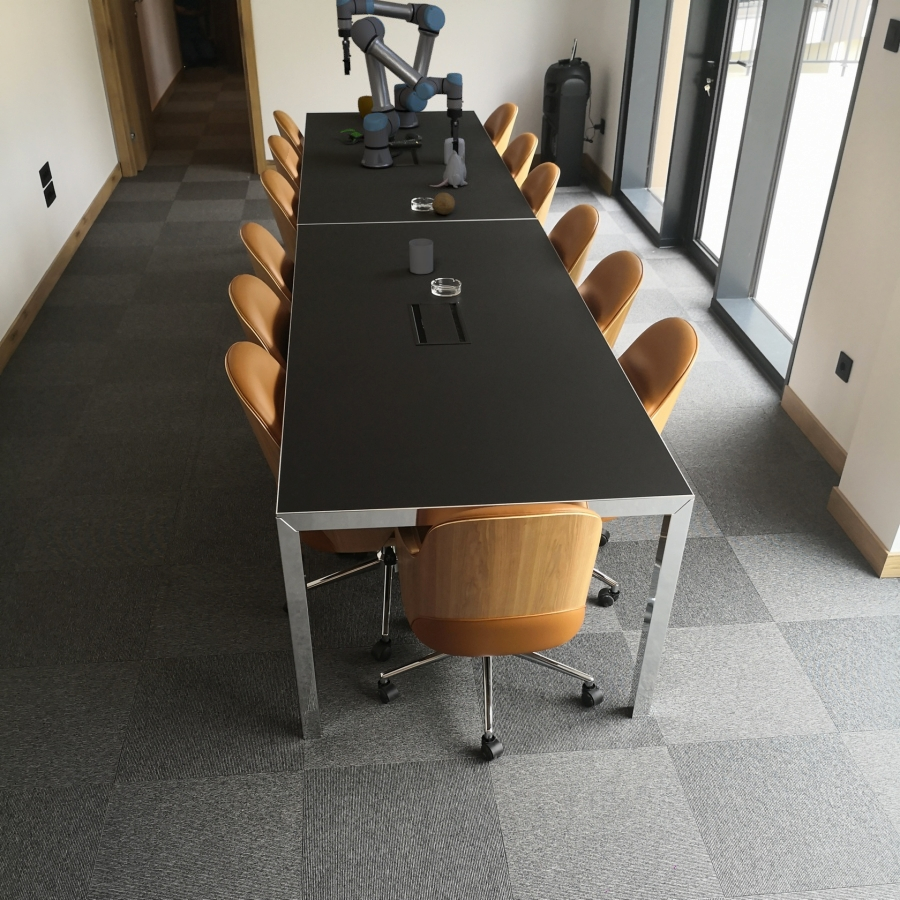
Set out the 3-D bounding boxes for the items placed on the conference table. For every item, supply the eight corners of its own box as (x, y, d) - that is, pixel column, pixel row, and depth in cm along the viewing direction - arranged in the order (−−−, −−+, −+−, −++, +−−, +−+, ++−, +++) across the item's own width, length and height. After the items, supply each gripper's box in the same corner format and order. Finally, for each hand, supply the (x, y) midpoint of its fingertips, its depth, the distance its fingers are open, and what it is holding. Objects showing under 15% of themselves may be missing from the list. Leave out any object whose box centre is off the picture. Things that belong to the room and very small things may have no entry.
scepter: (394, 125, 469) (339, 123, 467) (394, 140, 462) (338, 138, 460) (394, 135, 474) (339, 133, 472) (394, 150, 467) (338, 148, 464)
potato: (453, 208, 369) (453, 189, 365) (456, 218, 357) (456, 199, 353) (431, 208, 368) (430, 189, 364) (432, 218, 356) (432, 199, 352)
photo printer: (444, 164, 429) (444, 139, 422) (443, 162, 432) (443, 136, 426) (465, 164, 429) (465, 138, 422) (464, 162, 433) (464, 136, 426)
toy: (472, 184, 399) (472, 151, 391) (436, 195, 384) (436, 161, 376) (457, 180, 404) (458, 147, 396) (422, 191, 389) (421, 157, 381)
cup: (409, 265, 311) (408, 238, 306) (432, 265, 312) (431, 238, 307) (410, 274, 304) (409, 246, 299) (433, 273, 305) (433, 246, 299)
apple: (375, 120, 513) (374, 97, 506) (357, 120, 513) (356, 97, 506) (377, 116, 522) (376, 93, 515) (359, 116, 522) (358, 93, 515)
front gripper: (464, 113, 406) (464, 159, 418) (460, 102, 427) (460, 147, 439) (448, 113, 406) (448, 160, 417) (445, 103, 427) (445, 147, 438)
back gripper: (351, 31, 437) (354, 76, 448) (353, 25, 458) (355, 68, 469) (336, 31, 437) (339, 76, 448) (339, 25, 458) (341, 68, 469)
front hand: (454, 153), depth 428 cm, fingers open, 13 cm apart
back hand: (347, 72), depth 459 cm, fingers open, 13 cm apart
